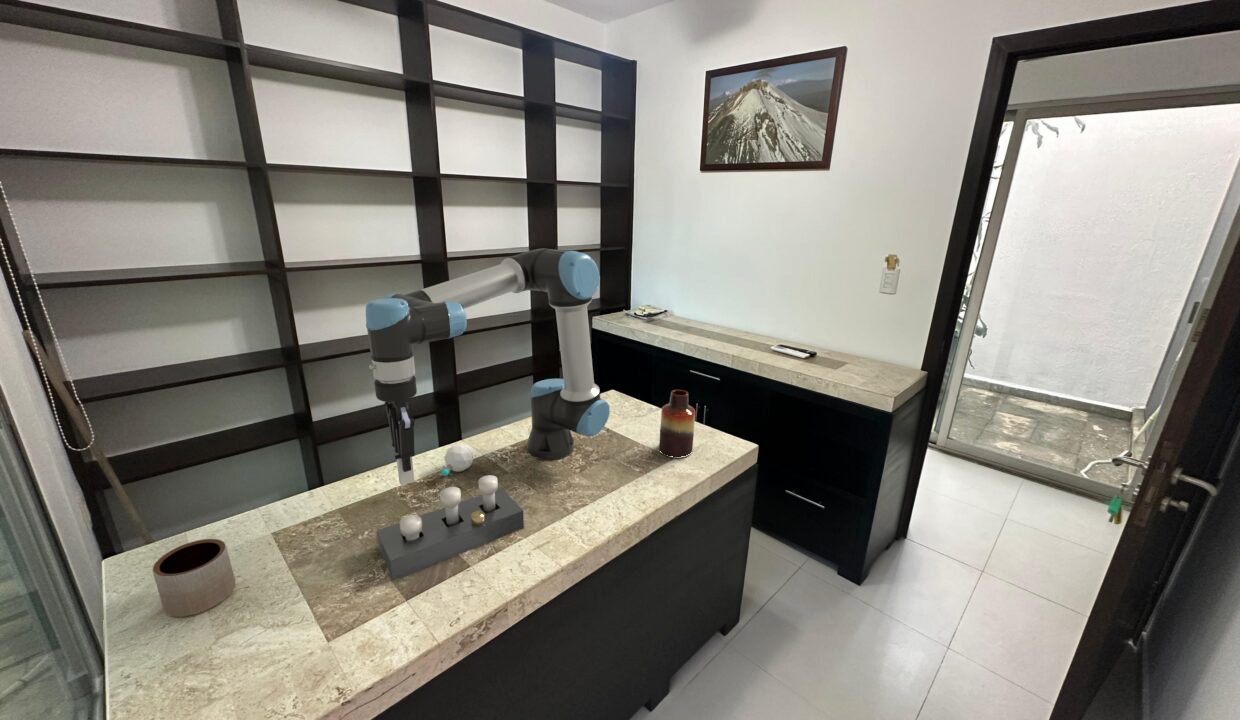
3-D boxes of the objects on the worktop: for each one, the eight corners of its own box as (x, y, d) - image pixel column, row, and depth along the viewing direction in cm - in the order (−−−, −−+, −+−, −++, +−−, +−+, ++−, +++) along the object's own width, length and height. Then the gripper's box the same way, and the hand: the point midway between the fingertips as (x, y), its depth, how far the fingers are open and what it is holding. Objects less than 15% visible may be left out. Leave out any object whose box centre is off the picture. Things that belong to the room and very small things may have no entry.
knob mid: (458, 514, 116) (456, 484, 114) (465, 523, 113) (463, 493, 111) (440, 520, 114) (437, 490, 111) (446, 530, 110) (443, 499, 108)
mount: (502, 504, 128) (501, 488, 126) (523, 528, 119) (523, 510, 117) (378, 549, 110) (376, 530, 109) (392, 580, 101) (390, 560, 100)
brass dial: (481, 516, 115) (481, 509, 114) (486, 522, 113) (486, 515, 112) (469, 520, 113) (468, 513, 112) (474, 527, 111) (473, 520, 110)
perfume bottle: (483, 454, 146) (462, 479, 135) (465, 464, 150) (443, 489, 139) (467, 434, 145) (444, 457, 134) (449, 445, 148) (425, 468, 137)
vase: (669, 439, 167) (673, 384, 161) (697, 449, 161) (702, 391, 155) (652, 451, 159) (656, 393, 153) (682, 461, 153) (686, 401, 147)
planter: (153, 626, 89) (140, 583, 86) (177, 585, 98) (165, 545, 95) (227, 609, 93) (216, 567, 90) (243, 571, 102) (233, 532, 100)
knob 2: (494, 501, 122) (492, 473, 119) (501, 510, 118) (500, 481, 116) (477, 507, 119) (475, 478, 117) (484, 516, 116) (482, 487, 113)
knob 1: (421, 542, 112) (418, 512, 110) (427, 552, 109) (424, 522, 106) (401, 549, 109) (397, 519, 107) (406, 560, 106) (402, 529, 104)
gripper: (366, 371, 100) (380, 474, 107) (382, 391, 90) (396, 502, 97) (405, 365, 104) (416, 464, 111) (424, 383, 94) (434, 490, 101)
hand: (406, 481), depth 104 cm, fingers closed
